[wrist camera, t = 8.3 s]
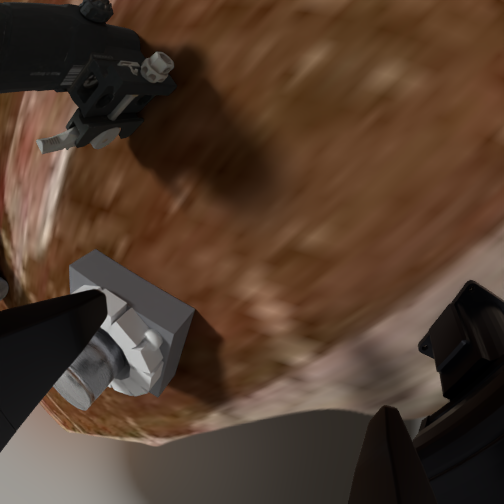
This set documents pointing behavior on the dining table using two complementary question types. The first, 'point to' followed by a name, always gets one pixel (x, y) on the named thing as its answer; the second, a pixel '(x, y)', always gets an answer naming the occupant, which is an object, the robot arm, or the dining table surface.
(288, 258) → the dining table surface
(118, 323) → the segmented white collar
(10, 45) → the scope
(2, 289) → the vintage camera
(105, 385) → the door knob
